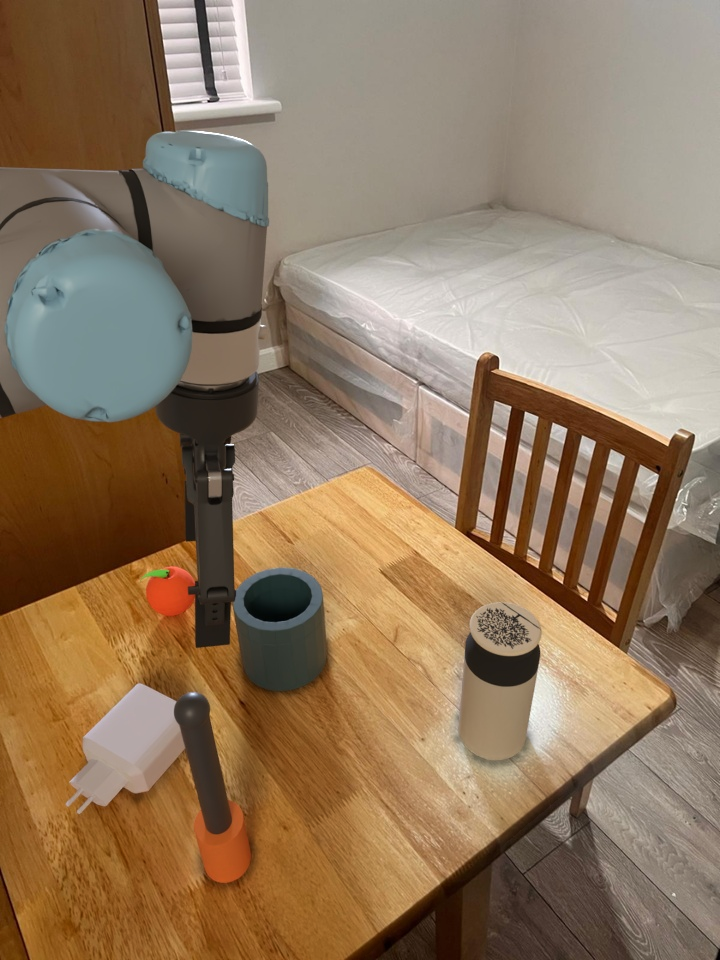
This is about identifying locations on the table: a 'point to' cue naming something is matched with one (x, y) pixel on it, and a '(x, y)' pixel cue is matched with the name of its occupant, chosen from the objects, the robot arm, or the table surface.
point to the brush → (212, 795)
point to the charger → (129, 747)
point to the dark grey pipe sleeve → (281, 628)
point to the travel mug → (498, 680)
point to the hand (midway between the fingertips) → (205, 586)
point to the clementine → (169, 590)
